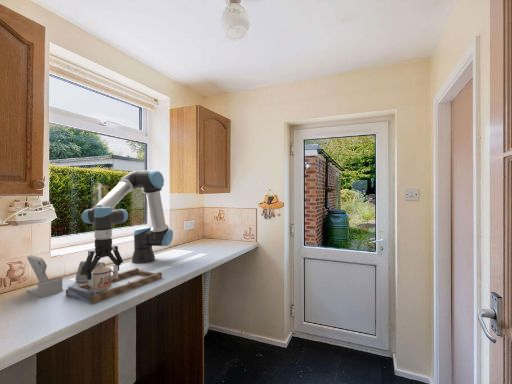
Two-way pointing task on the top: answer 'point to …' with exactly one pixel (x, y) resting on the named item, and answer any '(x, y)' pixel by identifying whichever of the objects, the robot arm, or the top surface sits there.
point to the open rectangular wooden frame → (88, 296)
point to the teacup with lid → (102, 278)
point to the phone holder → (43, 279)
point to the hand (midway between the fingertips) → (104, 281)
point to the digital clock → (83, 275)
